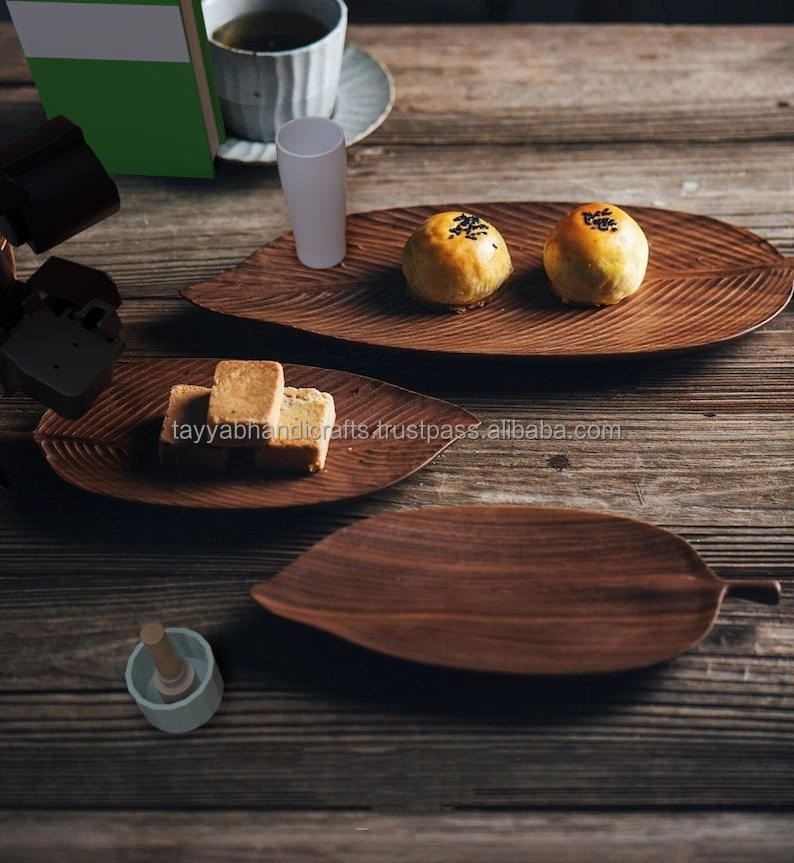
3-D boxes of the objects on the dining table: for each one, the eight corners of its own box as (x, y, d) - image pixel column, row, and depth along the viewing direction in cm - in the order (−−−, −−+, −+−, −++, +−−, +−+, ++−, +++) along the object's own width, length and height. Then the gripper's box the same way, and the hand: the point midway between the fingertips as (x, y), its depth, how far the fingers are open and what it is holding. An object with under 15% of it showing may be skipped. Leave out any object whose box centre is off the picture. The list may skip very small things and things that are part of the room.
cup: (151, 747, 68) (134, 722, 64) (134, 672, 71) (118, 644, 68) (233, 717, 69) (222, 691, 65) (213, 645, 73) (201, 616, 69)
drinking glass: (324, 226, 103) (312, 106, 91) (366, 255, 100) (359, 134, 88) (277, 255, 100) (259, 135, 88) (319, 286, 97) (306, 166, 85)
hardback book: (227, 143, 113) (189, -60, 94) (214, 181, 108) (172, -25, 89) (86, 137, 114) (20, -65, 95) (67, 175, 110) (-5, -30, 91)
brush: (166, 716, 69) (134, 660, 61) (158, 680, 70) (125, 621, 62) (206, 702, 69) (179, 644, 61) (196, 666, 71) (169, 606, 63)
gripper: (-33, 438, 49) (56, 581, 62) (160, 226, 60) (203, 385, 72) (-190, 375, 52) (-75, 523, 65) (20, 184, 63) (85, 343, 75)
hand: (44, 439), depth 69 cm, fingers open, 9 cm apart
